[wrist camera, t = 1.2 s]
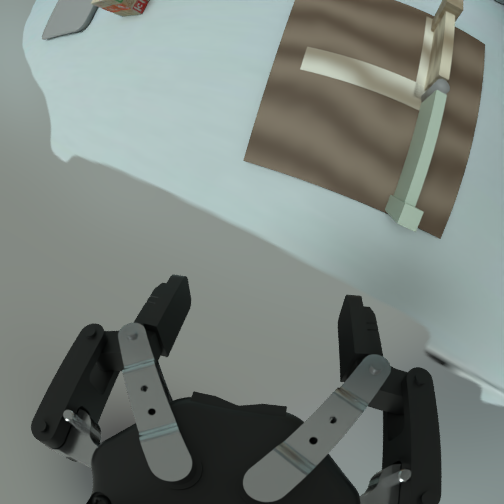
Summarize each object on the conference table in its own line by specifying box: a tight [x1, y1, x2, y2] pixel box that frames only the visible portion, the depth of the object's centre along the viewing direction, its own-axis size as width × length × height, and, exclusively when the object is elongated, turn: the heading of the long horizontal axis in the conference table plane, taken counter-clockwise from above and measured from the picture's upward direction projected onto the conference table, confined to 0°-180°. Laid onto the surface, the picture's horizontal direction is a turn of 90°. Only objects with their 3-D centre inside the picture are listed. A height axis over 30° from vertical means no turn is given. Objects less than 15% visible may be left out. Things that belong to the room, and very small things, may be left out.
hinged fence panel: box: [385, 79, 450, 232], centre depth 22 cm, size 16×2×8 cm, turn 163°
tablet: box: [42, 0, 98, 40], centre depth 34 cm, size 16×26×2 cm, turn 68°
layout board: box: [244, 0, 485, 238], centre depth 26 cm, size 30×27×1 cm
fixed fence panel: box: [424, 0, 463, 91], centre depth 17 cm, size 12×2×8 cm, turn 163°
